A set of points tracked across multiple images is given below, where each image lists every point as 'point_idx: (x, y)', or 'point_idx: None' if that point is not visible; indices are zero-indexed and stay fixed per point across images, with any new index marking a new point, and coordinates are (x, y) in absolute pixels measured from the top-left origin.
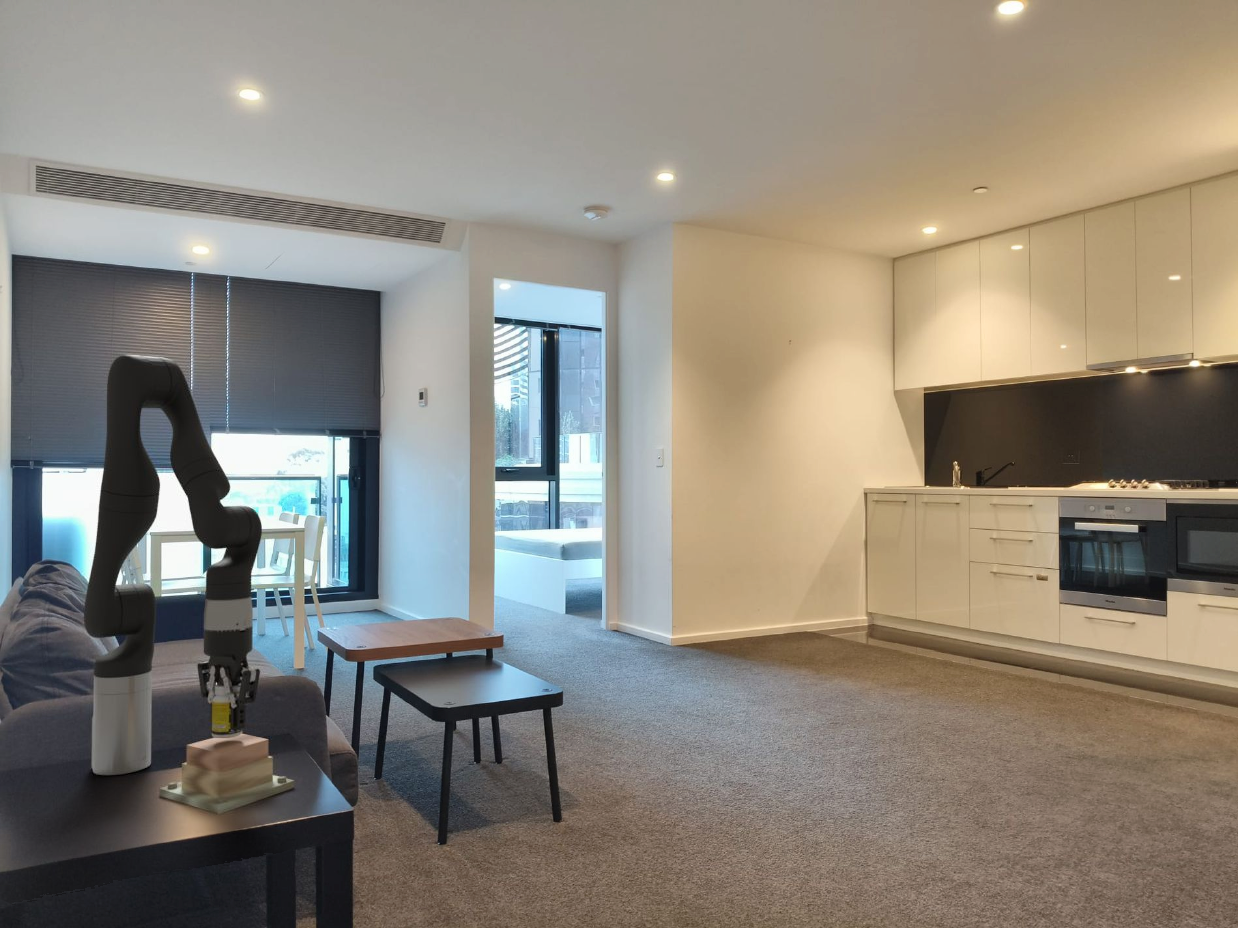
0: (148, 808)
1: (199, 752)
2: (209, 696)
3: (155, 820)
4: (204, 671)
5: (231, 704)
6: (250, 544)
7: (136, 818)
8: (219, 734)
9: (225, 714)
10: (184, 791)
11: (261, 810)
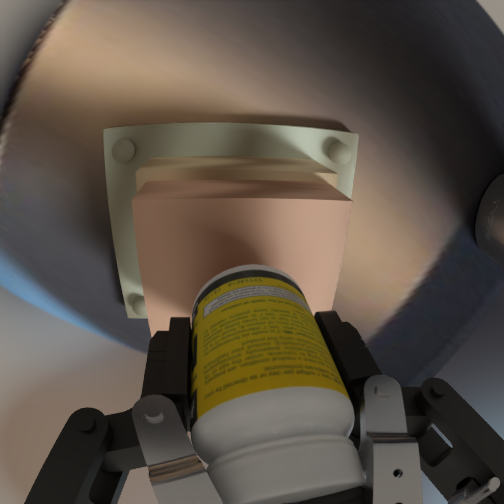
0: (298, 63)
1: (268, 193)
2: (393, 401)
3: (205, 24)
4: (487, 489)
5: (170, 410)
6: None
7: (260, 13)
8: (224, 276)
9: (205, 353)
10: (283, 145)
11: (58, 196)
